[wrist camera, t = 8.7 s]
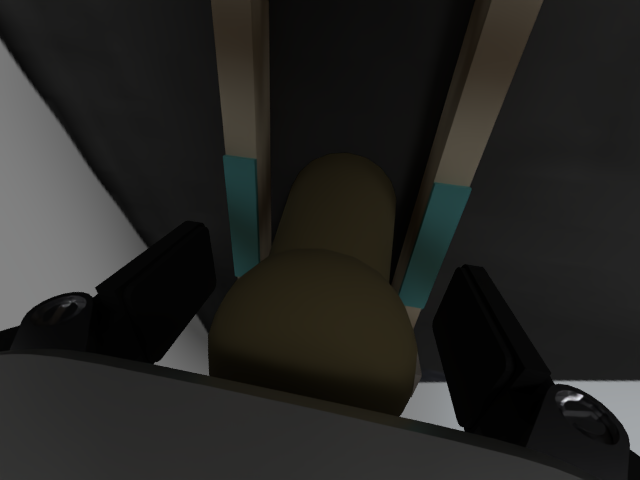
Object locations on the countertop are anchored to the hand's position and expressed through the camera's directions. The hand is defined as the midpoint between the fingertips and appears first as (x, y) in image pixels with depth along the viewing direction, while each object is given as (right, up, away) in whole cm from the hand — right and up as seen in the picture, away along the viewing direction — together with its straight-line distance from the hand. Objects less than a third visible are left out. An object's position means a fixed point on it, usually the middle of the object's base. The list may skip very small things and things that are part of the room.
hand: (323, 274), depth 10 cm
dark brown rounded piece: (+1, +3, +5) cm, 6 cm away
